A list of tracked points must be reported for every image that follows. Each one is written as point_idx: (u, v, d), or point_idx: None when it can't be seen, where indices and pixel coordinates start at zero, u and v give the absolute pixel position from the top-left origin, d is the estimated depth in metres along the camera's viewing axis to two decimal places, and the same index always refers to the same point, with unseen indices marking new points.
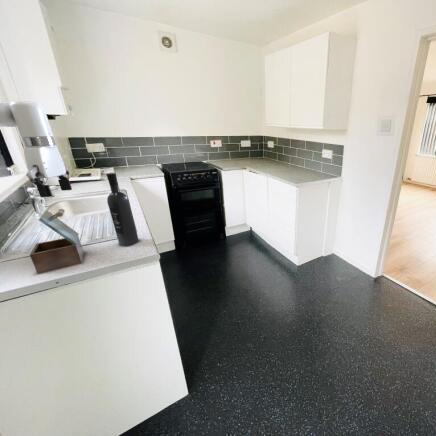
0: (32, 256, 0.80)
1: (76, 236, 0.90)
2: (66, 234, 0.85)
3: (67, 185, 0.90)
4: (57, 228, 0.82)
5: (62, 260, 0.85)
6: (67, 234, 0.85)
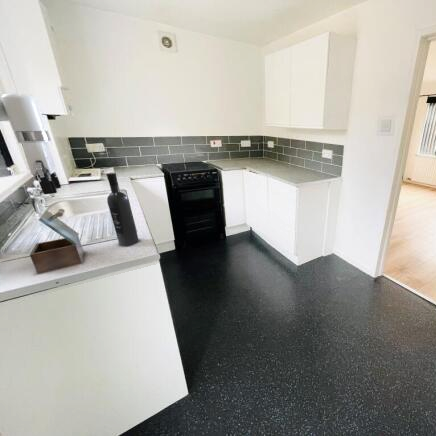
0: (32, 256, 0.80)
1: (76, 236, 0.90)
2: (66, 234, 0.85)
3: (57, 183, 0.86)
4: (57, 228, 0.82)
5: (62, 260, 0.85)
6: (67, 234, 0.85)
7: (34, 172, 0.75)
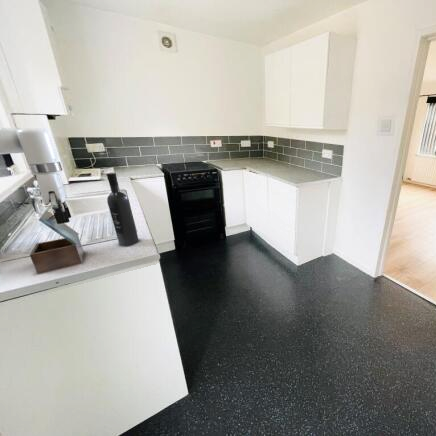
0: (32, 256, 0.80)
1: (76, 236, 0.90)
2: (66, 234, 0.85)
3: (67, 213, 0.88)
4: (57, 228, 0.82)
5: (62, 260, 0.85)
6: (67, 234, 0.85)
7: (47, 202, 0.79)
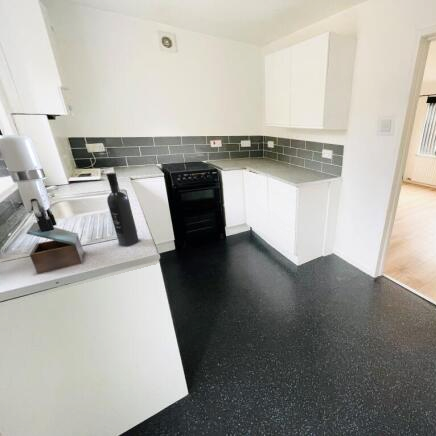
0: (32, 256, 0.80)
1: (75, 236, 0.90)
2: (62, 238, 0.84)
3: (52, 220, 0.86)
4: (50, 235, 0.82)
5: (62, 260, 0.85)
6: (63, 238, 0.85)
7: (29, 210, 0.77)
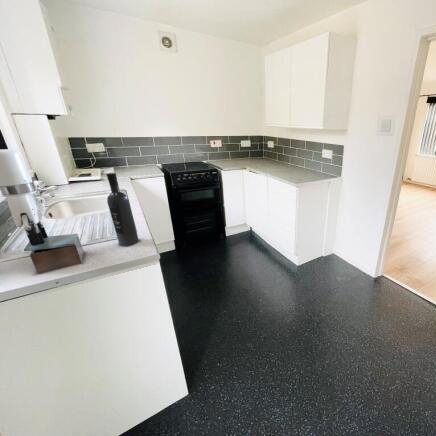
0: (32, 256, 0.80)
1: (74, 237, 0.90)
2: (60, 243, 0.84)
3: (43, 233, 0.86)
4: (47, 245, 0.82)
5: (62, 260, 0.85)
6: (61, 242, 0.85)
7: (19, 224, 0.76)
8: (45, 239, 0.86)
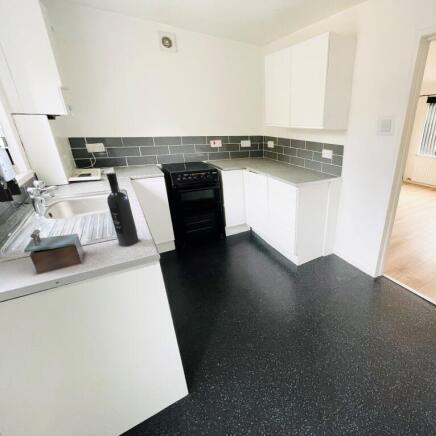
0: (32, 256, 0.80)
1: (74, 237, 0.90)
2: (60, 243, 0.84)
3: (17, 189, 0.83)
4: (47, 245, 0.82)
5: (62, 260, 0.85)
6: (61, 243, 0.85)
7: None
8: (45, 240, 0.86)
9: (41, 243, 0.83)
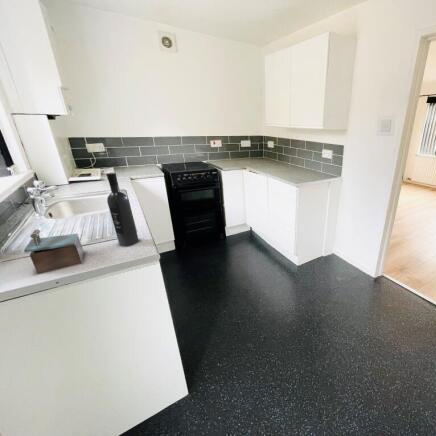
0: (32, 256, 0.80)
1: (74, 237, 0.90)
2: (60, 243, 0.84)
3: None
4: (47, 245, 0.82)
5: (62, 260, 0.85)
6: (61, 243, 0.85)
7: None
8: (45, 240, 0.86)
9: (41, 243, 0.83)
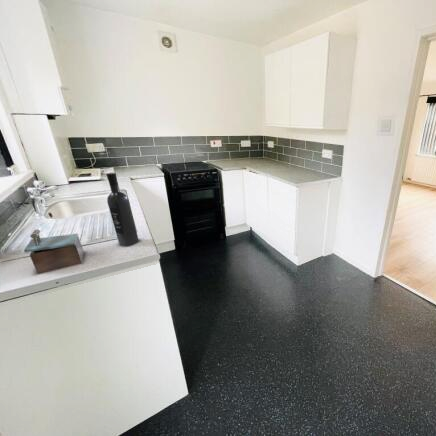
0: (32, 256, 0.80)
1: (74, 237, 0.90)
2: (60, 243, 0.84)
3: None
4: (47, 245, 0.82)
5: (62, 260, 0.85)
6: (61, 243, 0.85)
7: None
8: (45, 240, 0.86)
9: (41, 243, 0.83)
